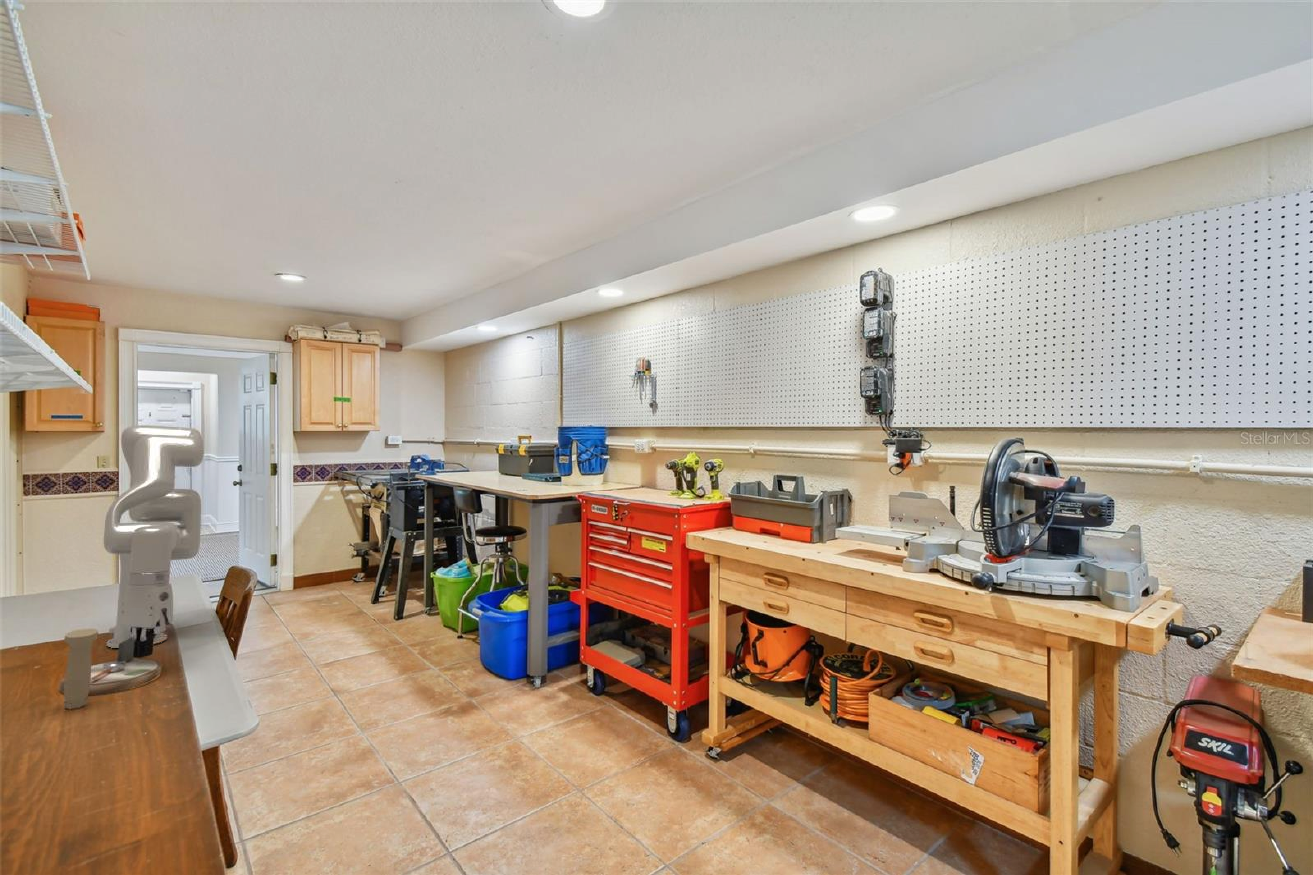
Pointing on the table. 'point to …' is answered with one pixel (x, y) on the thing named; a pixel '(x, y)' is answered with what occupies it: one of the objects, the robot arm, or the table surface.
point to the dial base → (121, 677)
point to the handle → (78, 667)
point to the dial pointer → (119, 658)
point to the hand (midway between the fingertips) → (142, 656)
